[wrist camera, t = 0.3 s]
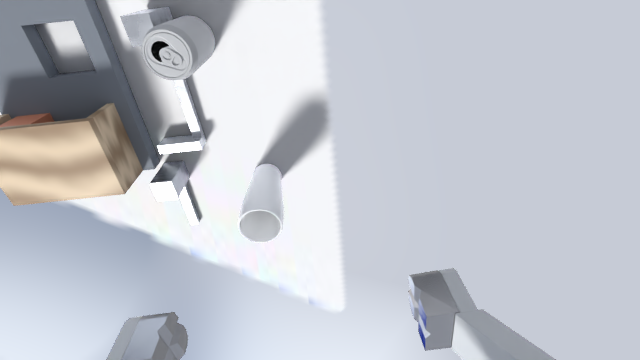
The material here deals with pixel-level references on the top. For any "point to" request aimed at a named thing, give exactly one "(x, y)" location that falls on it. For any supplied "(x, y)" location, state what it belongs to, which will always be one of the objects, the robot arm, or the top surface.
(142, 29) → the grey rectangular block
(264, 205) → the drinking glass
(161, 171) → the mallet
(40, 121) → the cube
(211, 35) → the beverage can
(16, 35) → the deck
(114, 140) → the cubby
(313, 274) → the top surface
